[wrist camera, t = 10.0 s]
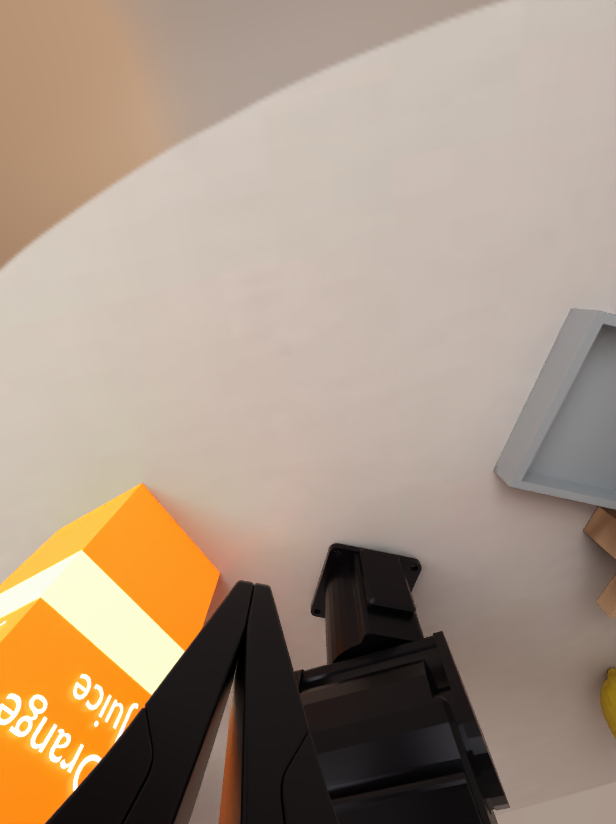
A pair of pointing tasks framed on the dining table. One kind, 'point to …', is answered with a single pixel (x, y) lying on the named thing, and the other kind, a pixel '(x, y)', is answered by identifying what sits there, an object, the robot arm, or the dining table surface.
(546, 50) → the dining table surface
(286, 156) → the dining table surface
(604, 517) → the bridge
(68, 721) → the orange juice
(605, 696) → the lemon
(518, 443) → the grey open tray
